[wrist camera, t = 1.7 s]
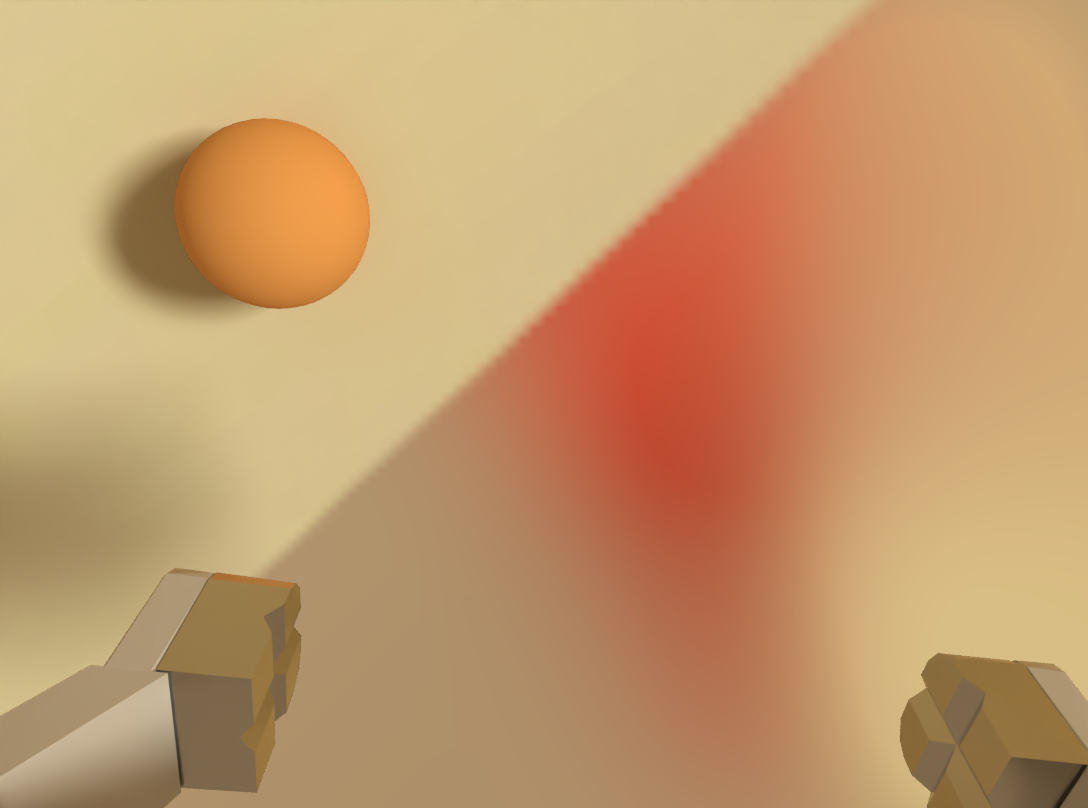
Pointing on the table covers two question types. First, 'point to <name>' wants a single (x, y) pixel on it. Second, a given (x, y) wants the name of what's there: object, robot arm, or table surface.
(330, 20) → the table surface
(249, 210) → the ball
